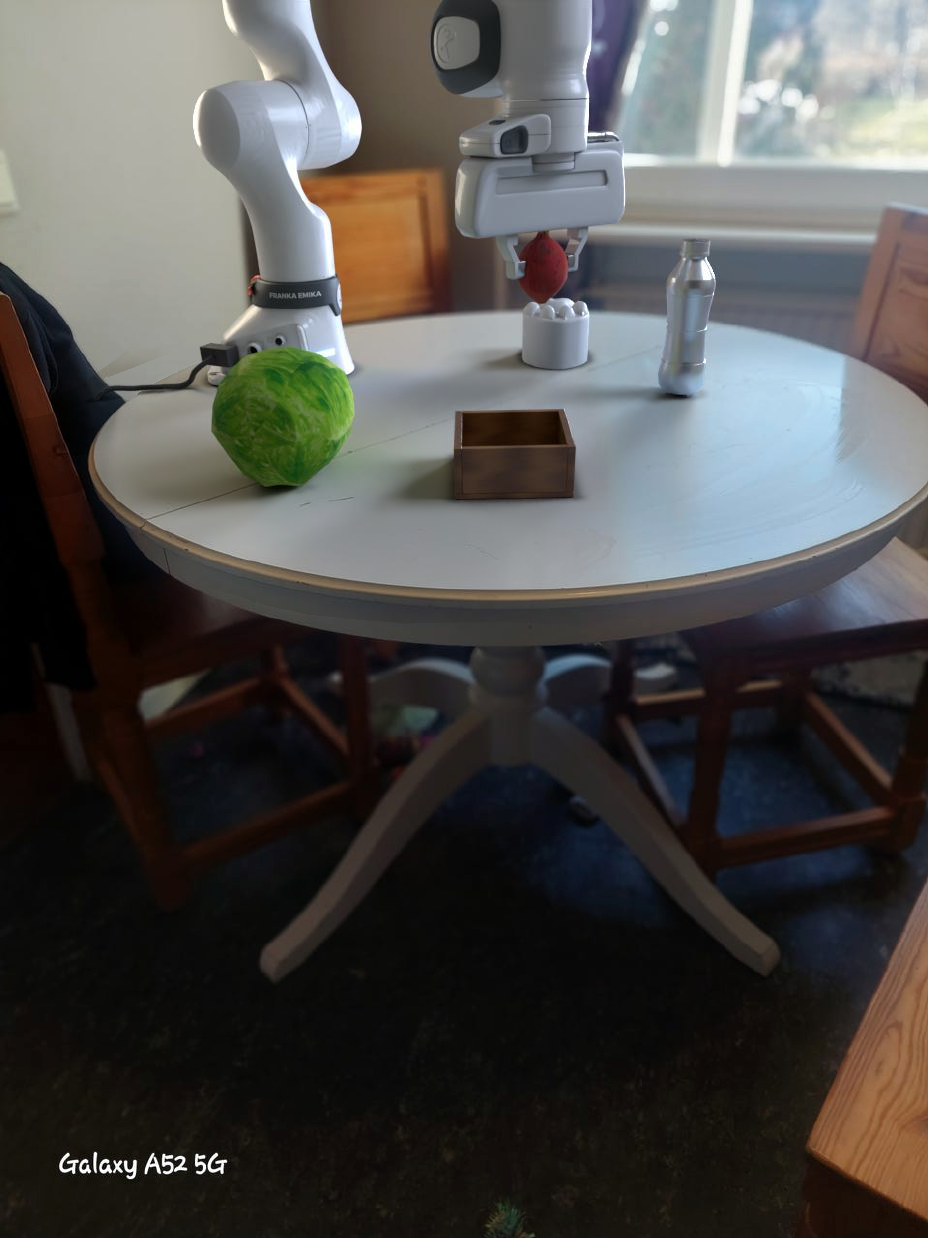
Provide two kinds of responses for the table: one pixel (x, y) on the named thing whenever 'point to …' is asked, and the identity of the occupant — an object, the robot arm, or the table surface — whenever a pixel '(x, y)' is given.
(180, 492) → the table surface
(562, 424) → the brown bin
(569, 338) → the lumpy-topped squat cylinder
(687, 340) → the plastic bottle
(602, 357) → the table surface
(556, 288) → the onion
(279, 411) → the lettuce
